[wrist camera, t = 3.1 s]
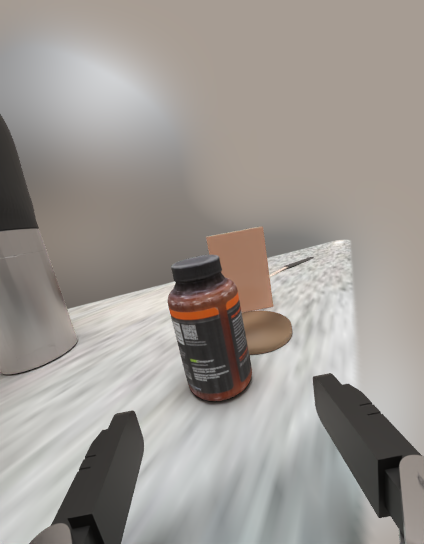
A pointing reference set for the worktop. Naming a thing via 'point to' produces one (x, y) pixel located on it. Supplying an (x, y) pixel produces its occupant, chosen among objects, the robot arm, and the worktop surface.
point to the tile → (245, 265)
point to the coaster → (266, 331)
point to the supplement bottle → (209, 329)
